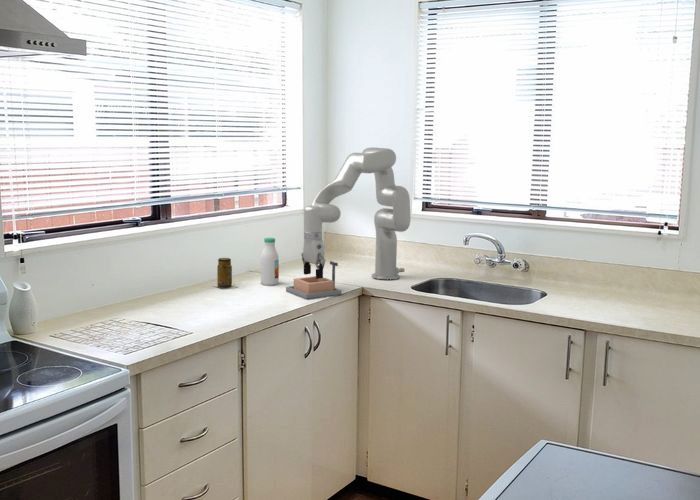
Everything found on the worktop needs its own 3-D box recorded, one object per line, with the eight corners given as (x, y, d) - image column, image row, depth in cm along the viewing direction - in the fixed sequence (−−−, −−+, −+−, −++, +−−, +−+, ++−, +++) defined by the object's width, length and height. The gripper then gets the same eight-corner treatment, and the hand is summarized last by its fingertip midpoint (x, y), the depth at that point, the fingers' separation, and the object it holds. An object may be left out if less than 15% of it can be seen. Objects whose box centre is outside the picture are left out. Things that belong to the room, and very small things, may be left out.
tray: (320, 287, 325) (320, 282, 325) (341, 294, 311) (341, 290, 311) (285, 291, 316) (285, 286, 315) (306, 299, 302) (306, 294, 302)
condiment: (227, 284, 328) (227, 256, 326) (238, 287, 322) (237, 259, 320) (212, 286, 324) (212, 258, 322) (222, 289, 317) (222, 261, 315)
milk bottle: (270, 286, 325) (270, 240, 322) (257, 283, 329) (256, 238, 326) (282, 283, 331) (282, 238, 328) (269, 281, 336) (269, 236, 332)
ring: (318, 287, 322) (318, 275, 321) (333, 292, 312) (333, 281, 312) (293, 290, 316) (293, 278, 315) (308, 296, 306) (308, 284, 305)
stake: (331, 286, 326) (331, 261, 324) (337, 289, 322) (338, 263, 320) (329, 287, 325) (329, 261, 324) (335, 289, 321) (335, 263, 319)
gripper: (331, 237, 311) (332, 278, 314) (309, 232, 325) (310, 271, 328) (316, 239, 306) (316, 281, 310) (294, 233, 321) (295, 273, 324)
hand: (313, 276), depth 319 cm, fingers open, 9 cm apart
